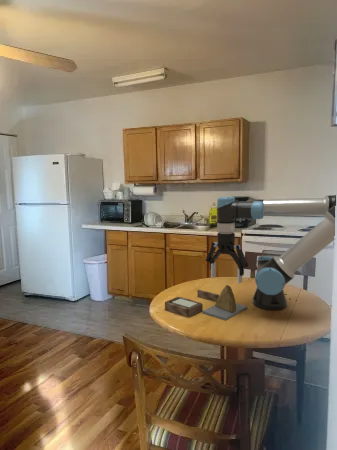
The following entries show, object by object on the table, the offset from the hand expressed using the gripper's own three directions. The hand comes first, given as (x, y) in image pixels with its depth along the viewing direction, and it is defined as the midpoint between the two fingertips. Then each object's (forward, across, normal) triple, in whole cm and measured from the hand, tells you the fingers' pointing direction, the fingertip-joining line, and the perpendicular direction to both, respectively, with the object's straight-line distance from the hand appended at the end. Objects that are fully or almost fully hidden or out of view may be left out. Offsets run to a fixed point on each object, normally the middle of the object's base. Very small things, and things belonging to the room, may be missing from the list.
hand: (226, 280), depth 149 cm
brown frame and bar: (+14, +15, +5) cm, 21 cm away
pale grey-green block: (+14, +14, +12) cm, 23 cm away
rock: (+13, 0, 0) cm, 13 cm away
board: (+14, 0, 0) cm, 14 cm away
